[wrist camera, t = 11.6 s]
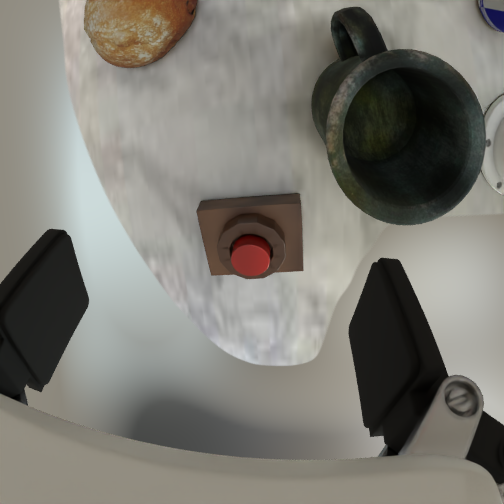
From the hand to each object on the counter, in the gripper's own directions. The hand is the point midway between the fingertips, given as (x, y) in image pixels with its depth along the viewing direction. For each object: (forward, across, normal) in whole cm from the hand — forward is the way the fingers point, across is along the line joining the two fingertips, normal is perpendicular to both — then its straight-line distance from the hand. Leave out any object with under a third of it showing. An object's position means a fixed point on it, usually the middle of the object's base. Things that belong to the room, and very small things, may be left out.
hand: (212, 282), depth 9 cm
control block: (+22, -1, +12) cm, 25 cm away
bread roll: (+22, +10, -11) cm, 27 cm away
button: (+18, -1, +12) cm, 22 cm away
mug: (+22, -9, -4) cm, 24 cm away
